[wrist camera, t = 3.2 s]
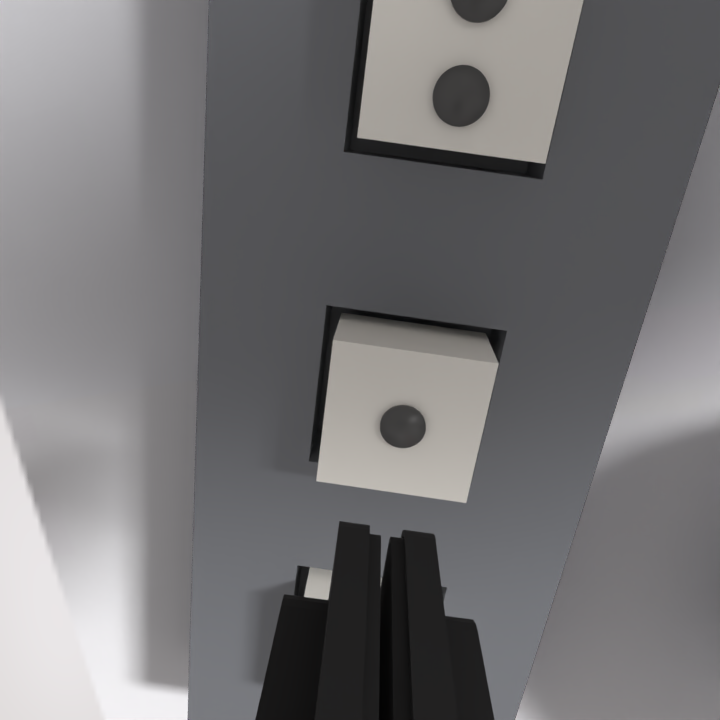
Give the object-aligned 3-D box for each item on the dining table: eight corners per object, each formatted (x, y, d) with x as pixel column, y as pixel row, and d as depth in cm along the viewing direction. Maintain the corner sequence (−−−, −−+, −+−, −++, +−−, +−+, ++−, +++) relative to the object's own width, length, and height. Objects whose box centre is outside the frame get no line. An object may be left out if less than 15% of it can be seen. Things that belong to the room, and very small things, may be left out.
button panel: (254, -237, 14) (218, -326, 12) (742, -173, 14) (826, -246, 11) (210, 662, 25) (187, 727, 23) (486, 703, 25) (497, 774, 22)
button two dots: (386, -54, 14) (384, -93, 11) (565, -30, 14) (600, -64, 11) (363, 136, 15) (356, 137, 13) (523, 159, 15) (546, 164, 13)
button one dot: (341, 312, 17) (332, 341, 15) (485, 333, 17) (499, 366, 15) (326, 439, 19) (315, 484, 16) (458, 458, 18) (466, 506, 16)
